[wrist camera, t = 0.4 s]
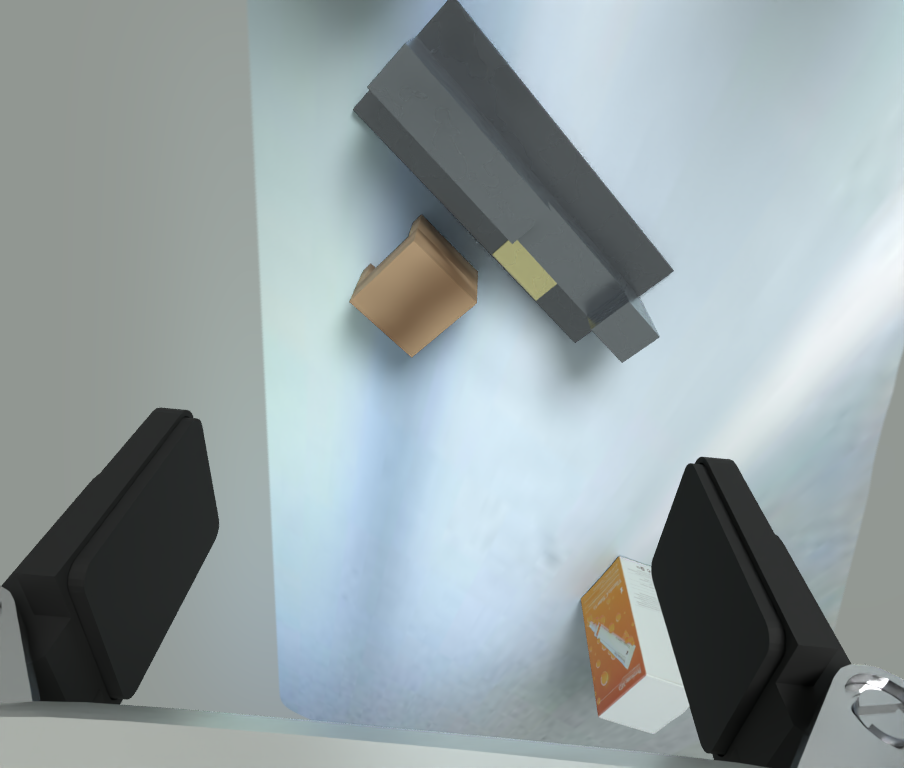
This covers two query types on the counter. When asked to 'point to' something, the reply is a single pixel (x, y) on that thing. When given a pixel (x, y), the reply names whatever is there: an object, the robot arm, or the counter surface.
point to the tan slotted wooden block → (417, 288)
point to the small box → (631, 650)
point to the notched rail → (515, 181)
